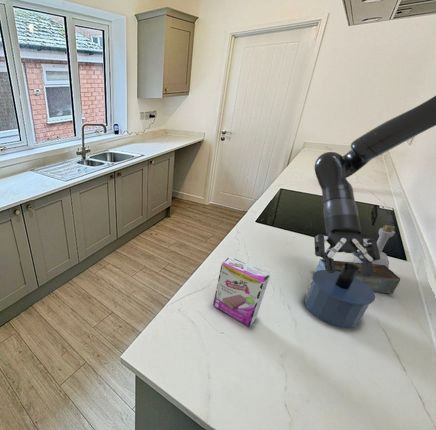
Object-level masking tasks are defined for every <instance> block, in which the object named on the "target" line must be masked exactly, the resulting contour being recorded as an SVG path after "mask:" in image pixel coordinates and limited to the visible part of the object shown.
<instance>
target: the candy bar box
mask: <svg viewBox="0 0 436 430" xmlns="http://www.w3.org/2000/svg"><path fill="white" fill-rule="evenodd" d="M270 278H271V274H270V273H268V272H266V271H263V270H262V269H259V268H257V267H255V266H253V265H250V264H248V263H246V262H243V261H241V260H239V259H237V258H234V257H232V256H228V257H227V258H226V259H225V260H224V261H222V263H221V265H220V270H219V275H218V279H217V284H216V289H215V294H214V298H213V303H212V307H214V308H216V309H217V310H219V311H221V312H223V313H224V314H226V315H228V316H230V317H231V318H233V319H234V320H236V321H238V322H240V323H241V324H243V325H245V326H247V327H249V328H250V327H251V326H252V324H253V323H254V322H255V320H256V319H257V317H258V314H259V311H260V308H261V305H262V301H263V298H264V296H265V292H266V289H267V286H268V284H269V280H270Z"/></svg>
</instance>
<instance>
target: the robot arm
mask: <svg viewBox="0 0 436 430" xmlns="http://www.w3.org/2000/svg"><path fill="white" fill-rule="evenodd" d="M434 127H436V95H434V96H433V97H431V98H429V99H427V100H426V101H424V102H422V103H421V104H419V105H417V106H415V107H413V108H411V109H409V110H407V111H405V112H403V113H401V114H399V115H397V116H395V117H393V118H391V119H389V120H386V121H385V122H383V123H381V124H379V125H377V126H376V127H374V128H373V129H370V130H369V131H367V132H366V133H364V134H362V135H361V136H359V137H357V138H356V139H354V140H353V141H352V142H351V143H350V150H349V151H348V152H347V153H345V154H344V155H342V154H340V153H339V152H336V151H327V152H323V153H322V154H320V155H319V156H318V157H317V158H316V160H315V162H314V174H315V177H316V180H317V181H318V184H319V187H320V189H321V195H322V203H323V210H322V211H323V219H324V228H325V234H326V235H324V234H323V233H319V234H318V235H315V236H314V237H313V238H314V239H313V240H314V242H313V243H314V255H315V256H316V257H319V258H321V259H324V265H325V270H326V271H327V272H328V273H334V272H335V266H334V261H335V260H334V258H333V257H334V256H335V254H336V253H345V254H352V255H353V256H354V257H355V256H357V257H358V258H359V259H360V260H361V261H362V262H363V263H361V267H362V273H363V276H365V277H369V276H372V274H373V266H372V262H373V261H375V260H380V254H379V250H378V246H377V239H376V238H375V237H369V238H363V237H362V235H361V232H362V227H361V221H360V216H359V210H358V206H357V204H356V200H355V194H354V189H353V186H352V184H351V183H350V182H349V181H348V180H347V178H349V177H351V176H353V175H354V174H355V173H357V172H358V171H359V170H361V169H362V168H364V166H366V165H368V163H370V162H371V161H372V160H373V159H375V158H377V157H379V156H382V155H383V154H385V153H387V152H388V151H390V150H392V149H394V148H396V147H398V146H400V145H402V144H404V143H405V142H407V141H409V140H411V139H413V138H415V137H417V136H418V135H420V134H422V133H424V132H426V131H428V130H430V129H431V128H434ZM326 242H327V243H328V245H329V246H328V248H327V249H325V248H326V247H325V243H326ZM365 248H366V249H365Z"/></svg>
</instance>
